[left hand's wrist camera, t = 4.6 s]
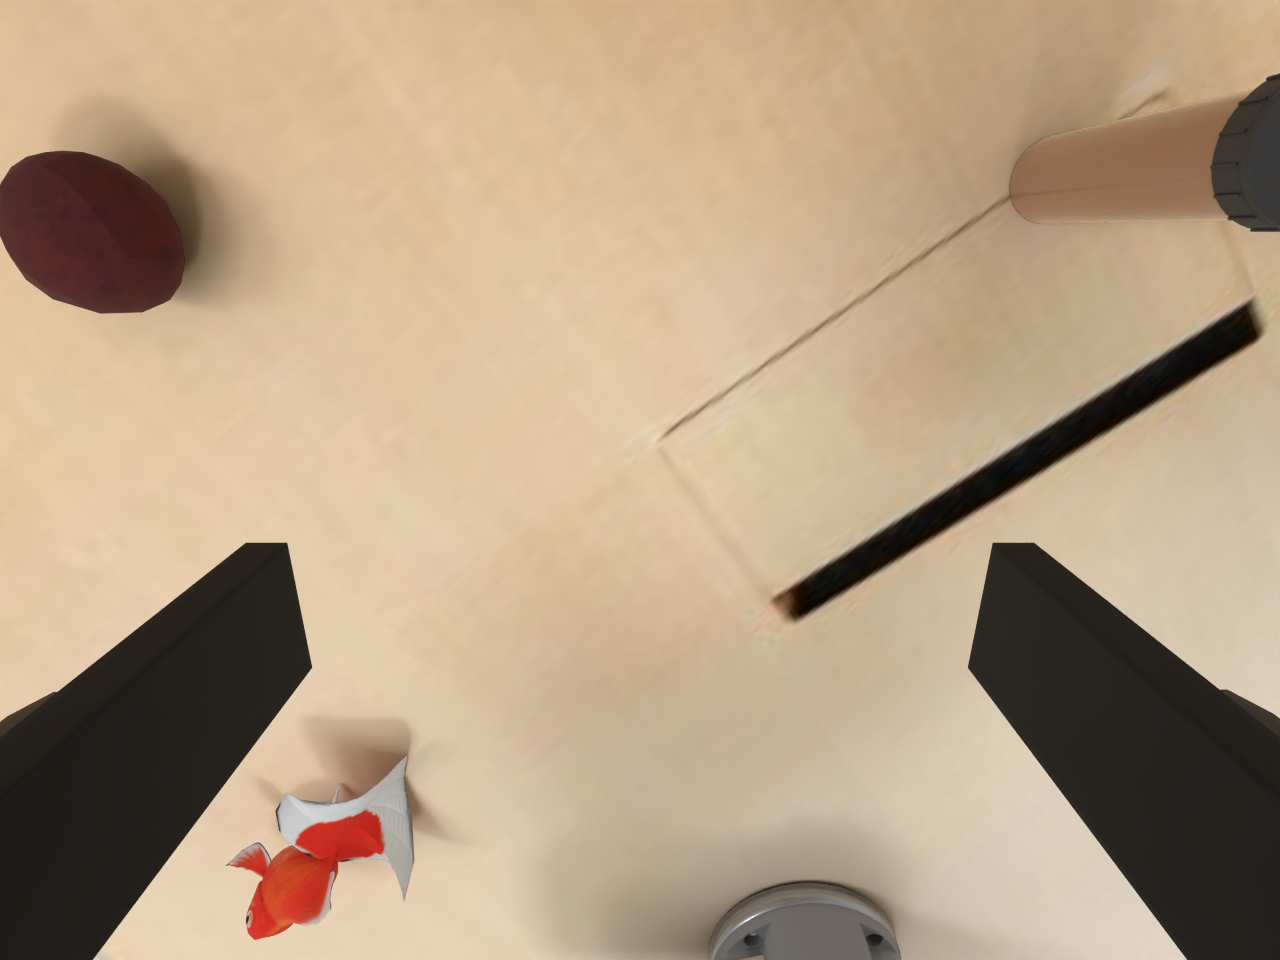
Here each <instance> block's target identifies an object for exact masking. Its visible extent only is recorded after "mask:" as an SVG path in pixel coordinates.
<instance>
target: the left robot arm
mask: <svg viewBox="0 0 1280 960" xmlns="http://www.w3.org/2000/svg"><path fill="white" fill-rule="evenodd" d="M311 668H312V665H311V660H310V655H309V650H308V645H307V640H306V635H305V630H304V625H303V620H302V615H301V610H300V605H299V600H298V595H297V590H296V585H295V580H294V575H293V570H292V565H291V560H290V555H289V550H288V545H287V543H245V544H244V545H243V546H241V547H240V548H239V549H238V550H236V551H235V552H234V553H233V554H231V555H230V556H229V557H227V558H226V559H225V560H224V561H222V562H221V563H220V564H219V565H217V566H216V567H215V568H214V569H212V570H211V571H210V572H209V573H207V574H206V575H205V576H203V577H202V578H201V579H200V580H198V581H197V582H196V583H195V584H193V585H192V586H191V587H190V588H188V589H187V590H186V591H185V592H183V593H182V594H181V595H179V596H178V597H177V598H176V599H174V600H173V601H172V602H171V603H169V604H168V605H167V606H166V607H164V608H163V609H162V610H161V611H159V612H158V613H157V614H155V615H154V616H153V617H152V618H150V619H149V620H148V621H147V622H145V623H144V624H143V625H142V626H140V627H139V628H138V629H137V630H135V631H134V632H133V633H131V634H130V635H129V636H128V637H126V638H125V639H124V640H123V641H121V642H120V643H119V644H118V645H116V646H115V647H114V648H113V649H111V650H110V651H109V652H107V653H106V654H105V655H104V656H102V657H101V658H100V659H99V660H97V661H96V662H95V663H94V664H92V665H91V666H90V667H89V668H87V669H86V670H85V671H83V672H82V673H81V674H80V675H78V676H77V677H76V678H75V679H73V680H72V681H71V682H70V683H68V684H67V685H66V686H65V687H63V688H62V689H61V690H59V691H58V692H53V693H51V694H49V695H47V696H45V697H43V698H41V699H39V700H38V701H36V702H34V703H32V704H30V705H28V706H26V707H24V708H22V709H21V710H19V711H17V712H15V713H13V714H11V715H9V716H7V717H6V718H5V719H3V720H2V721H1V722H0V960H93V959H94V957H95V956H96V955H97V953H98V952H99V951H100V949H101V948H102V947H103V945H104V944H105V943H106V941H107V940H108V939H109V937H110V936H111V935H112V933H113V932H114V931H115V929H116V928H117V927H118V925H119V924H120V923H121V921H122V920H123V919H124V917H125V916H126V915H127V913H128V912H129V911H130V909H131V908H132V907H133V906H134V904H135V903H136V902H137V900H138V899H139V898H140V896H141V895H142V894H143V892H144V891H145V890H146V888H147V887H148V886H149V884H150V883H151V882H152V880H153V879H154V878H155V876H156V875H157V874H158V872H159V871H160V870H161V868H162V867H163V866H164V864H165V863H166V862H167V860H168V859H169V858H170V856H171V855H172V854H173V852H174V851H175V850H176V848H177V847H178V846H179V844H180V843H181V842H182V840H183V839H184V838H185V836H186V835H187V834H188V832H189V831H190V830H191V828H192V827H193V826H194V824H195V823H196V822H197V820H198V819H199V818H200V816H201V815H202V814H203V812H204V811H205V810H206V808H207V807H208V806H209V804H210V803H211V802H212V800H213V799H214V798H215V796H216V795H217V794H218V792H219V791H220V790H221V788H222V787H223V786H224V784H225V783H226V782H227V780H228V779H229V778H230V776H231V775H232V774H233V772H234V771H235V770H236V768H237V767H238V766H239V764H240V763H241V762H242V760H243V759H244V758H245V756H246V755H247V754H248V752H249V751H250V750H251V748H252V747H253V746H254V744H255V743H256V742H257V740H258V739H259V738H260V736H261V735H262V734H263V732H264V731H265V730H266V728H267V727H268V726H269V724H270V723H271V722H272V720H273V719H274V718H275V716H276V715H277V714H278V712H279V711H280V710H281V708H282V707H283V706H284V704H285V703H286V702H287V700H288V699H289V698H290V696H291V695H292V694H293V692H294V691H295V690H296V688H297V687H298V686H299V684H300V683H301V682H302V680H303V679H304V678H305V676H306V675H307V674H308V672H309V671H310V670H311ZM968 668H969V670H970V671H971V672H972V674H973V675H974V676H975V678H976V679H977V680H978V682H979V683H980V684H981V686H982V687H983V688H984V690H985V691H986V692H987V694H988V695H989V696H990V698H991V699H992V700H993V702H994V703H995V704H996V706H997V707H998V708H999V710H1000V711H1001V712H1002V714H1003V715H1004V716H1005V718H1006V719H1007V720H1008V722H1009V723H1010V724H1011V726H1012V727H1013V728H1014V730H1015V731H1016V732H1017V734H1018V735H1019V736H1020V738H1021V739H1022V740H1023V742H1024V743H1025V744H1026V746H1027V747H1028V748H1029V750H1030V751H1031V752H1032V754H1033V755H1034V756H1035V758H1036V759H1037V760H1038V762H1039V763H1040V764H1041V766H1042V767H1043V768H1044V770H1045V771H1046V772H1047V774H1048V775H1049V776H1050V778H1051V779H1052V780H1053V782H1054V783H1055V784H1056V786H1057V787H1058V788H1059V790H1060V791H1061V792H1062V794H1063V795H1064V796H1065V798H1066V799H1067V800H1068V802H1069V803H1070V804H1071V806H1072V807H1073V808H1074V810H1075V811H1076V812H1077V814H1078V815H1079V816H1080V818H1081V819H1082V820H1083V822H1084V823H1085V824H1086V826H1087V827H1088V828H1089V830H1090V831H1091V832H1092V834H1093V835H1094V836H1095V838H1096V839H1097V840H1098V842H1099V843H1100V844H1101V846H1102V847H1103V848H1104V850H1105V851H1106V852H1107V854H1108V855H1109V856H1110V858H1111V859H1112V860H1113V862H1114V863H1115V864H1116V866H1117V867H1118V868H1119V870H1120V871H1121V872H1122V874H1123V875H1124V876H1125V878H1126V879H1127V880H1128V882H1129V883H1130V884H1131V886H1132V887H1133V888H1134V890H1135V891H1136V892H1137V894H1138V895H1139V896H1140V898H1141V899H1142V900H1143V902H1144V903H1145V904H1146V906H1147V907H1148V908H1149V910H1150V911H1151V912H1152V913H1153V915H1154V916H1155V917H1156V919H1157V920H1158V921H1159V923H1160V924H1161V925H1162V927H1163V928H1164V929H1165V931H1166V932H1167V933H1168V935H1169V936H1170V937H1171V939H1172V940H1173V941H1174V943H1175V944H1176V945H1177V947H1178V948H1179V949H1180V951H1181V952H1182V953H1183V955H1184V956H1185V957H1186V959H1187V960H1280V718H1278V717H1277V716H1276V715H1274V714H1273V713H1271V712H1269V711H1267V710H1265V709H1263V708H1261V707H1259V706H1258V705H1256V704H1254V703H1252V702H1250V701H1248V700H1246V699H1244V698H1242V697H1240V696H1238V695H1237V694H1235V693H1233V692H1231V691H1229V690H1219V689H1218V688H1217V687H1215V686H1214V685H1213V684H1212V683H1210V682H1209V681H1208V680H1207V679H1205V678H1204V677H1203V676H1202V675H1200V674H1199V673H1198V672H1197V671H1195V670H1194V669H1193V668H1191V667H1190V666H1189V665H1188V664H1186V663H1185V662H1184V661H1183V660H1181V659H1180V658H1179V657H1178V656H1176V655H1175V654H1174V653H1173V652H1171V651H1170V650H1169V649H1167V648H1166V647H1165V646H1164V645H1162V644H1161V643H1160V642H1159V641H1157V640H1156V639H1155V638H1154V637H1152V636H1151V635H1150V634H1149V633H1147V632H1146V631H1145V630H1143V629H1142V628H1141V627H1140V626H1138V625H1137V624H1136V623H1135V622H1133V621H1132V620H1131V619H1130V618H1128V617H1127V616H1126V615H1125V614H1123V613H1122V612H1121V611H1119V610H1118V609H1117V608H1116V607H1114V606H1113V605H1112V604H1111V603H1109V602H1108V601H1107V600H1106V599H1104V598H1103V597H1102V596H1101V595H1099V594H1098V593H1097V592H1095V591H1094V590H1093V589H1092V588H1090V587H1089V586H1088V585H1087V584H1085V583H1084V582H1083V581H1082V580H1080V579H1079V578H1078V577H1077V576H1075V575H1074V574H1073V573H1071V572H1070V571H1069V570H1068V569H1066V568H1065V567H1064V566H1063V565H1061V564H1060V563H1059V562H1058V561H1056V560H1055V559H1054V558H1053V557H1051V556H1050V555H1049V554H1047V553H1046V552H1045V551H1044V550H1042V549H1041V548H1040V547H1039V546H1037V545H1036V544H1035V543H993V544H992V550H991V555H990V560H989V565H988V570H987V575H986V580H985V585H984V590H983V595H982V600H981V605H980V610H979V615H978V620H977V625H976V630H975V635H974V640H973V645H972V650H971V655H970V660H969V665H968ZM709 960H901V955H900V950H899V947H898V944H897V942H896V939H895V936H894V933H893V931H892V928H891V925H890V923H889V921H888V919H887V918H886V916H885V915H884V913H883V912H882V911H881V910H880V909H879V908H878V907H877V906H876V905H875V904H874V903H873V902H871V901H870V900H869V899H867V898H865V897H864V896H862V895H860V894H858V893H856V892H854V891H851V890H848V889H846V888H842V887H838V886H834V885H828V884H820V883H798V884H789V885H784V886H779V887H775V888H771V889H768V890H765V891H762V892H760V893H758V894H755V895H753V896H751V897H749V898H747V899H746V900H744V901H742V902H741V903H739V904H738V905H736V906H735V907H734V908H733V909H731V910H730V911H729V912H728V913H727V914H726V915H725V916H724V917H723V918H722V920H721V921H720V922H719V924H718V925H717V927H716V929H715V930H714V933H713V935H712V937H711V941H710V946H709Z"/></svg>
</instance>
